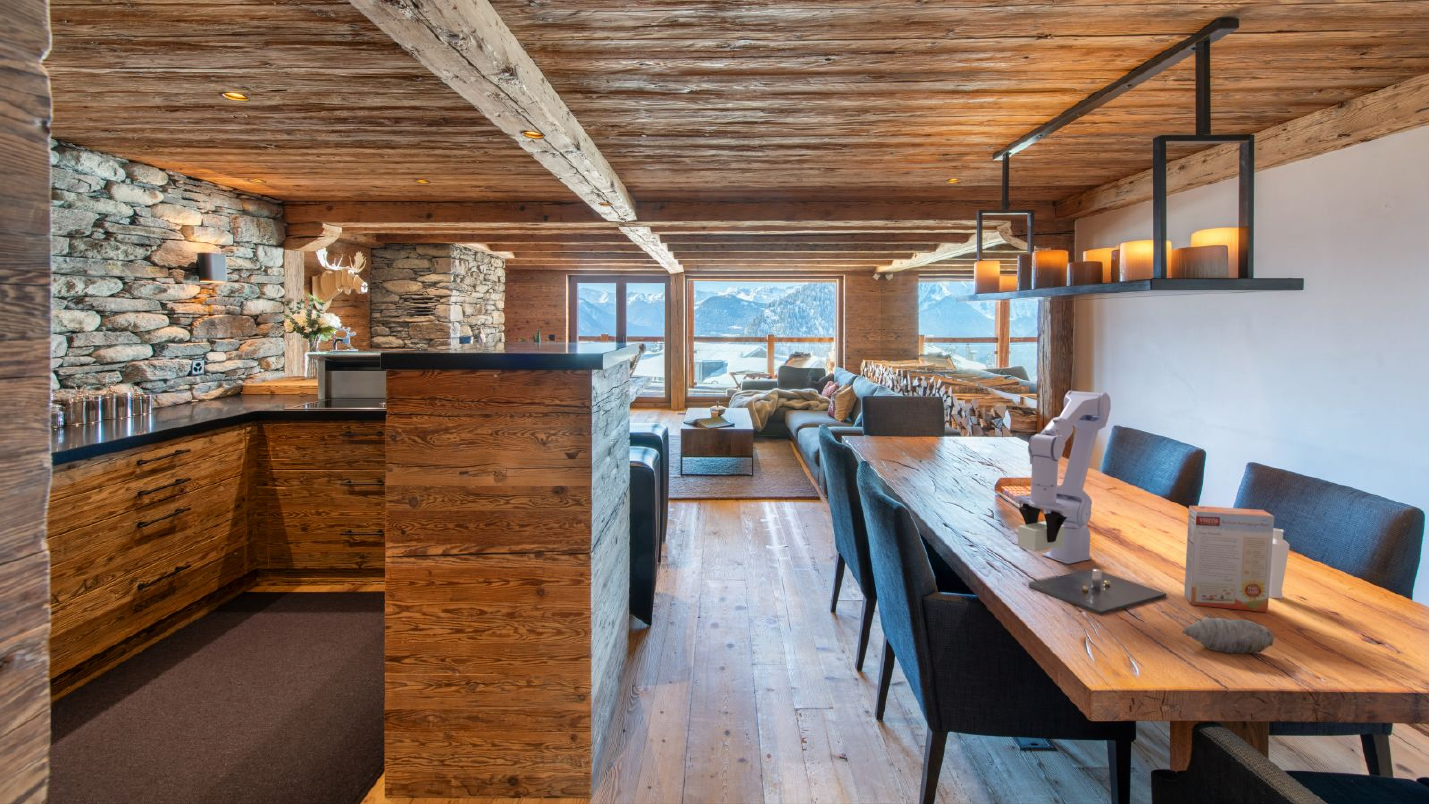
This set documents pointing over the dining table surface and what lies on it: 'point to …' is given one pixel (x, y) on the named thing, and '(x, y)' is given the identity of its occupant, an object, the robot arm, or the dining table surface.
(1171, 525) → the dining table surface
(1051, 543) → the block with square hole
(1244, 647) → the seashell
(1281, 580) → the white plastic bottle
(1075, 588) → the stand
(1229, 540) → the cracker box
